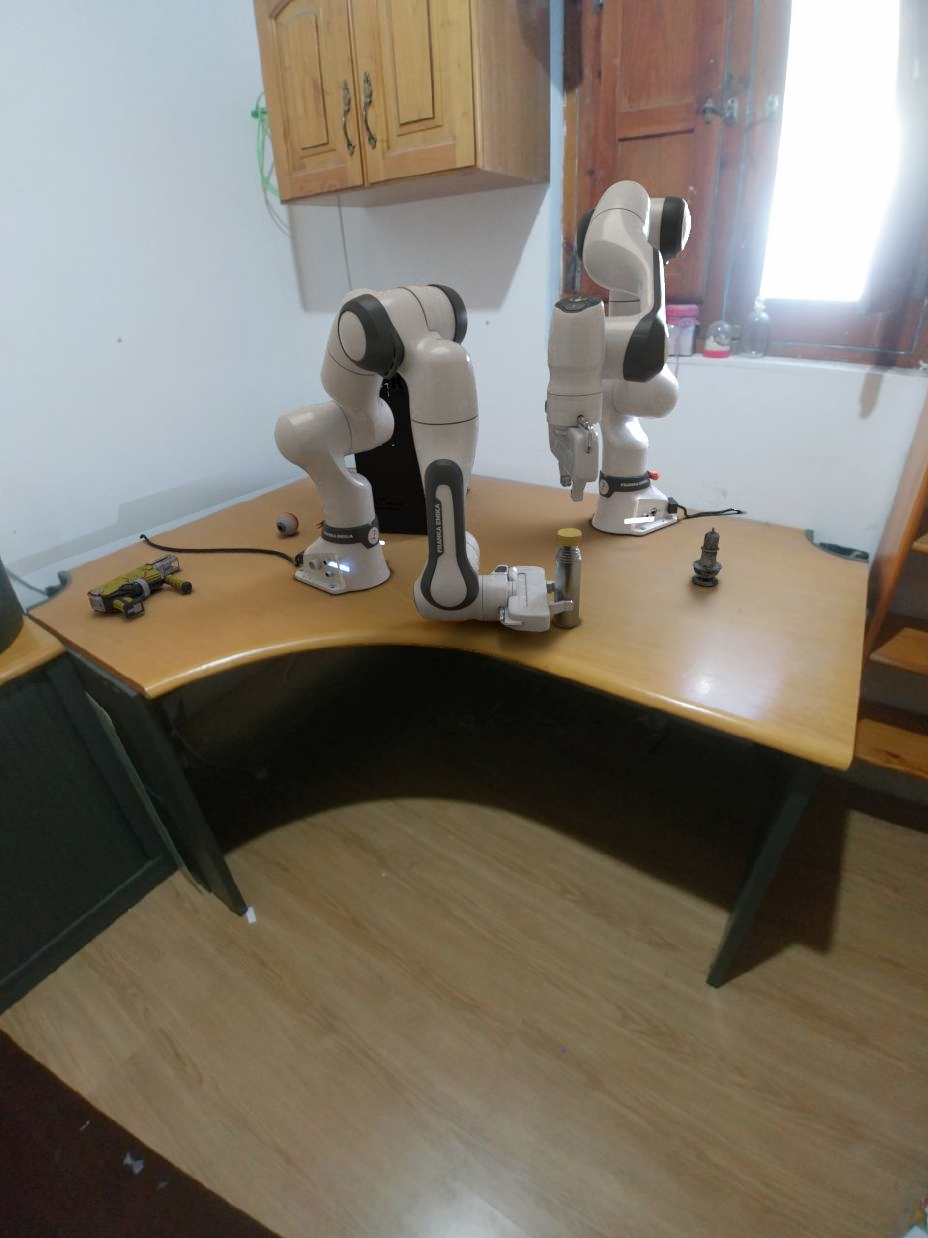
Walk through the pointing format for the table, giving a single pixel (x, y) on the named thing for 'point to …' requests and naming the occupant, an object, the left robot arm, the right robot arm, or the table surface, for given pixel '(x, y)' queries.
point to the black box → (396, 468)
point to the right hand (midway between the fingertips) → (570, 492)
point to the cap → (569, 537)
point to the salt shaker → (708, 561)
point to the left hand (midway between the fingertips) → (571, 596)
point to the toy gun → (136, 587)
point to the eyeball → (287, 523)
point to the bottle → (567, 584)
